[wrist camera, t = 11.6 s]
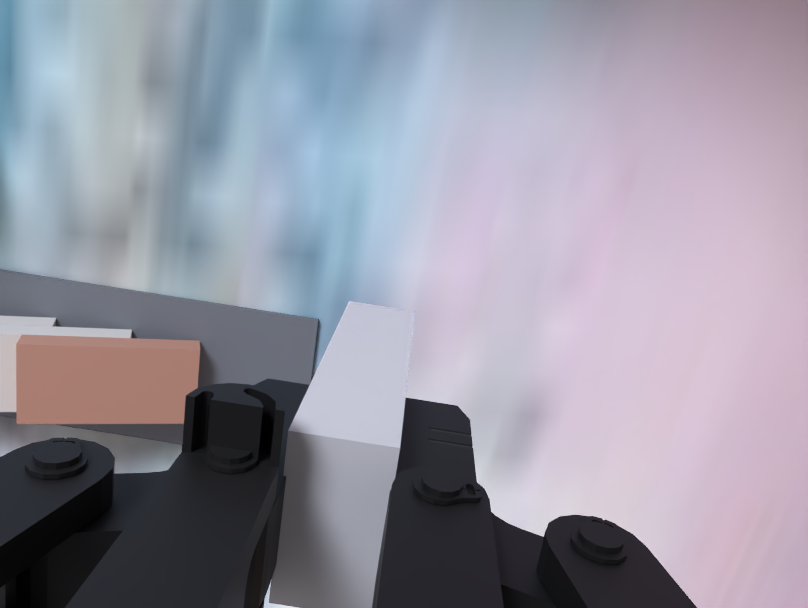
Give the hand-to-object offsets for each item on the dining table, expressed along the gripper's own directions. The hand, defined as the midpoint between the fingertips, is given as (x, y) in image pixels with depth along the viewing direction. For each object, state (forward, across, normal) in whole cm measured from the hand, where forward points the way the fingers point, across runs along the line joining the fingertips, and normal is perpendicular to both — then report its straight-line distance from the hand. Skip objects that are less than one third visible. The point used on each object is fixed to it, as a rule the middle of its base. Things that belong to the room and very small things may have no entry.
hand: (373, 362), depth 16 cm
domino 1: (+25, -12, -13) cm, 31 cm away
